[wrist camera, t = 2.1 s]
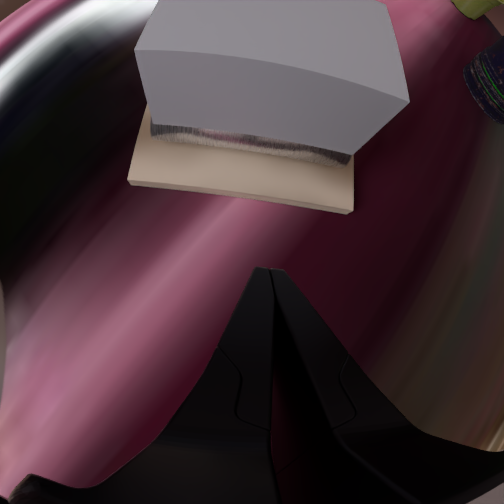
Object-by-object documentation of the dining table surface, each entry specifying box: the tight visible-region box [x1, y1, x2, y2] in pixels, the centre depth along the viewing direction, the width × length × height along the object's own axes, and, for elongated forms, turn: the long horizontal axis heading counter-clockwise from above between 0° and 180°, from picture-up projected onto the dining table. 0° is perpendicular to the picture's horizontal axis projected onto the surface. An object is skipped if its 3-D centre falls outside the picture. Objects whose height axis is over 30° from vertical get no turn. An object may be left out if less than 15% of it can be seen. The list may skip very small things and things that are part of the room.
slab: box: [134, 0, 410, 155], centre depth 14 cm, size 8×12×6 cm, turn 84°
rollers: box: [150, 117, 352, 168], centre depth 20 cm, size 17×13×4 cm
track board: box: [127, 103, 354, 214], centre depth 23 cm, size 21×16×1 cm
